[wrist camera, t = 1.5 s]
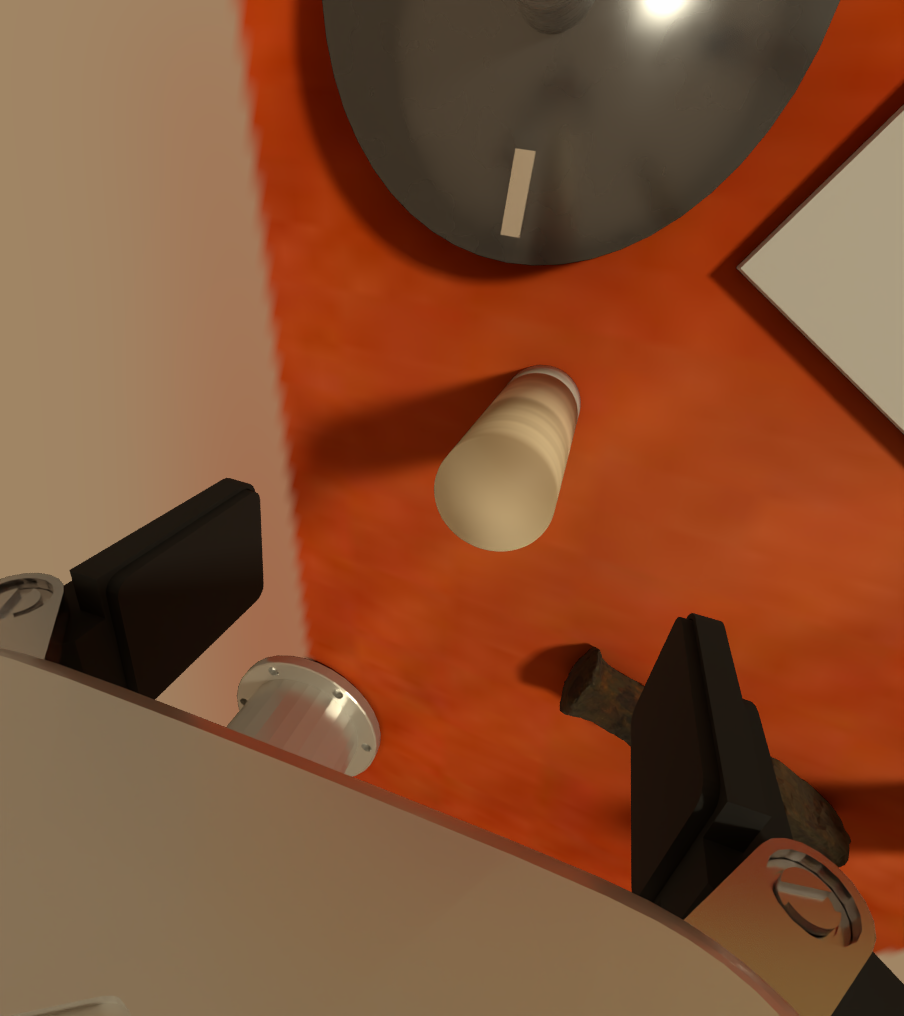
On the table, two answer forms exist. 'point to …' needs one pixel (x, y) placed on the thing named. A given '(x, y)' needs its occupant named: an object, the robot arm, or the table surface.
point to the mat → (847, 268)
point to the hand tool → (611, 707)
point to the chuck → (563, 110)
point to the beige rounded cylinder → (511, 462)
